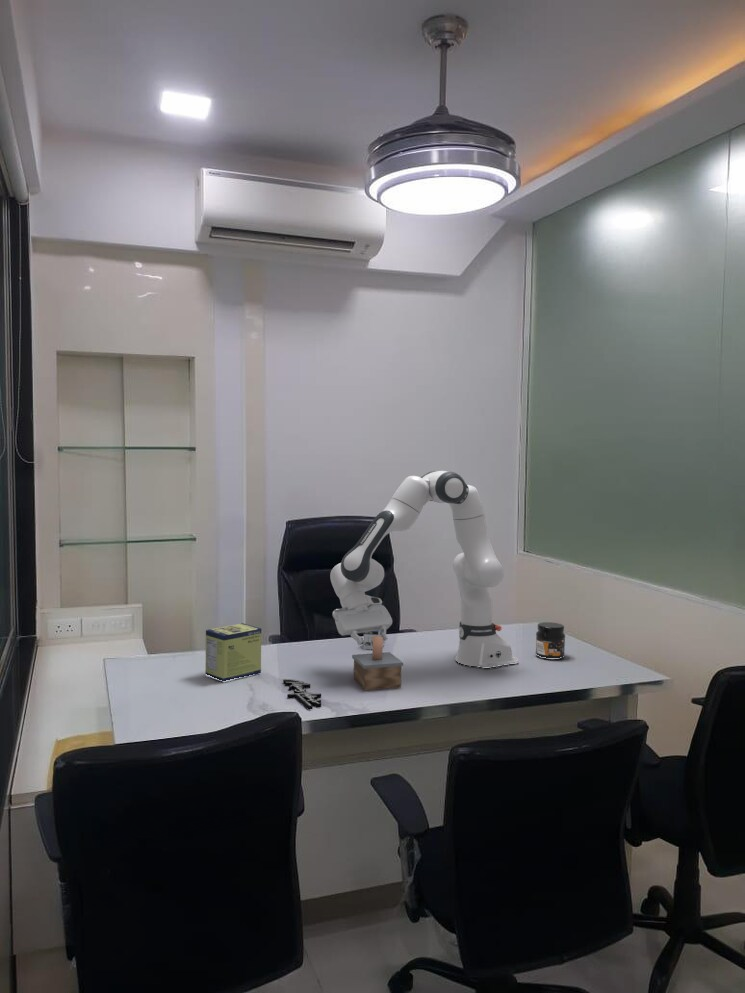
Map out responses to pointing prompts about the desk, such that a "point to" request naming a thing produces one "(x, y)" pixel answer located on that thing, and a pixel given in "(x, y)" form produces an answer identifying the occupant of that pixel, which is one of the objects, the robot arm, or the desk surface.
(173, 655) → the desk surface
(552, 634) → the supplement container
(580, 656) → the desk surface
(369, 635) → the light bulb box
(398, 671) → the box
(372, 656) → the lid
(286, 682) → the nameplate
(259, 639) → the protein box
